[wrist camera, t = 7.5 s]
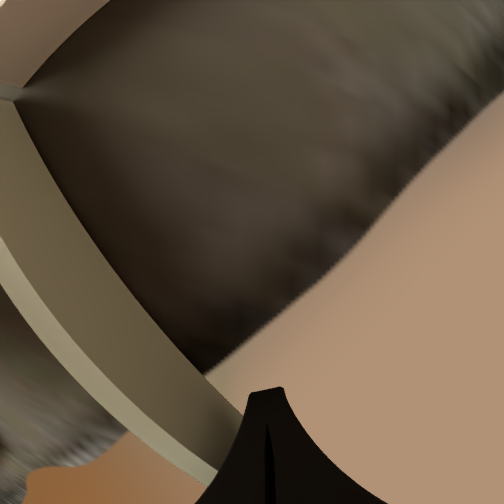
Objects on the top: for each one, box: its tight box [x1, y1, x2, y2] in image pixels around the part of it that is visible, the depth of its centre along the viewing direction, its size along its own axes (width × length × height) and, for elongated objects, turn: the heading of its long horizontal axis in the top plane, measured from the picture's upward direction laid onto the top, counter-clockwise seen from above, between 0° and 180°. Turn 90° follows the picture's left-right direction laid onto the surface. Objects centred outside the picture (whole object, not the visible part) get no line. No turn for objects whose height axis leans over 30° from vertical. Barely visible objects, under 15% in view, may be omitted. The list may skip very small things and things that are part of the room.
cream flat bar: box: [0, 97, 243, 487], centre depth 8 cm, size 17×1×4 cm, turn 33°
